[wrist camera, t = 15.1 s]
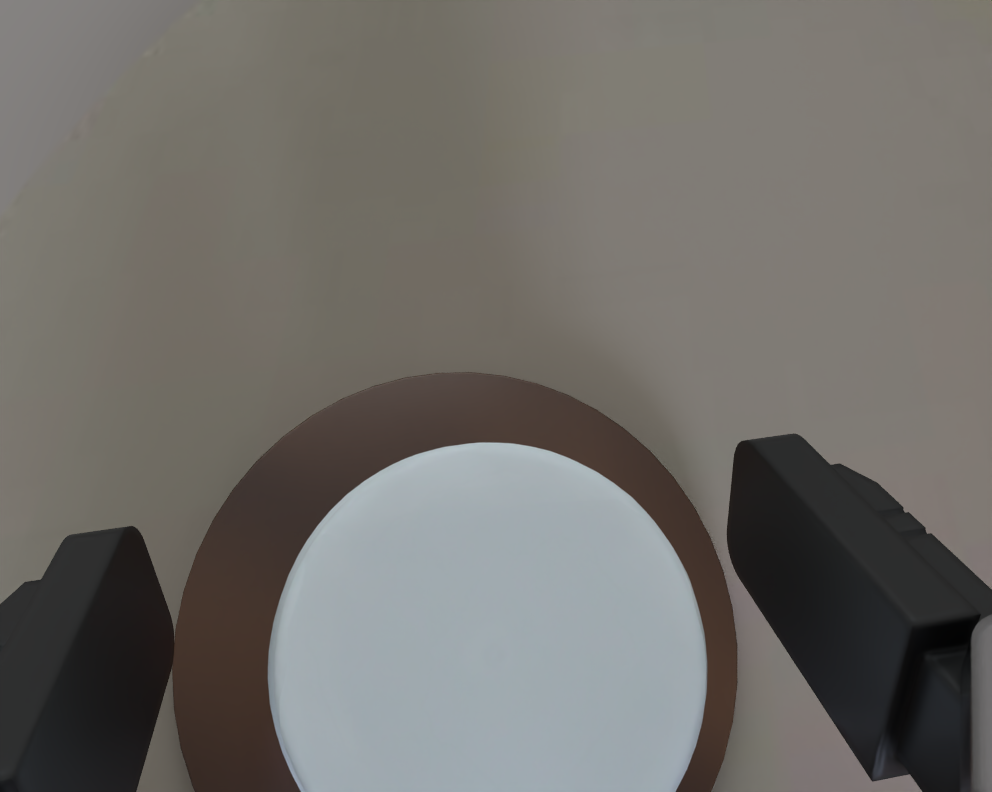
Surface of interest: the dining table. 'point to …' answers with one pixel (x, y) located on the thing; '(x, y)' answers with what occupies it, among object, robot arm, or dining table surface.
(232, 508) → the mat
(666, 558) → the pill bottle
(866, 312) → the dining table surface
